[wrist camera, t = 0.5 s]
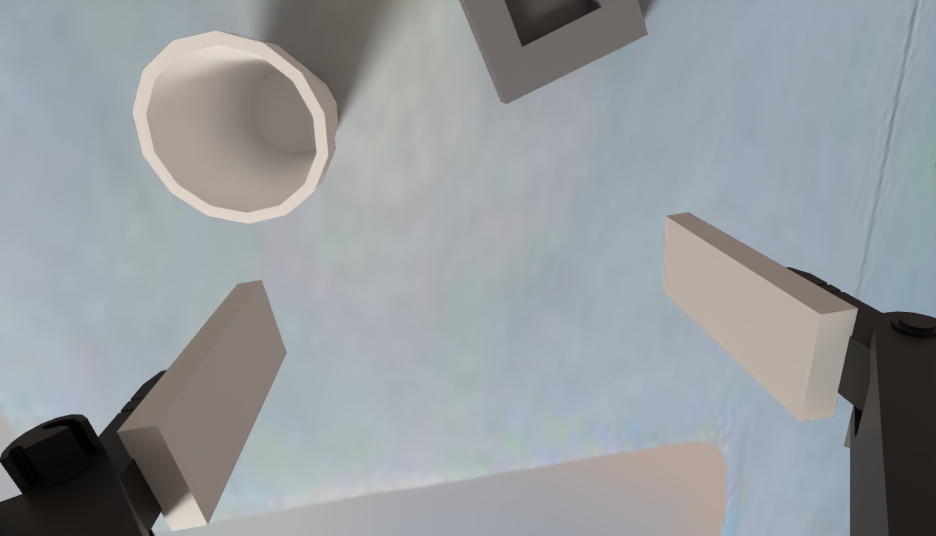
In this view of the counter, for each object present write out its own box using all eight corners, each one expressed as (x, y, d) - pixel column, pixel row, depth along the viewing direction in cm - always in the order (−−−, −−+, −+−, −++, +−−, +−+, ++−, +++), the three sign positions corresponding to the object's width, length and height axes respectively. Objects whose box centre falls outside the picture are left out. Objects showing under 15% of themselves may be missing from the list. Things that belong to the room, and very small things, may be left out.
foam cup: (368, 63, 36) (341, 62, 24) (349, 184, 39) (317, 237, 27) (234, 28, 34) (131, 8, 22) (226, 157, 37) (133, 201, 25)
